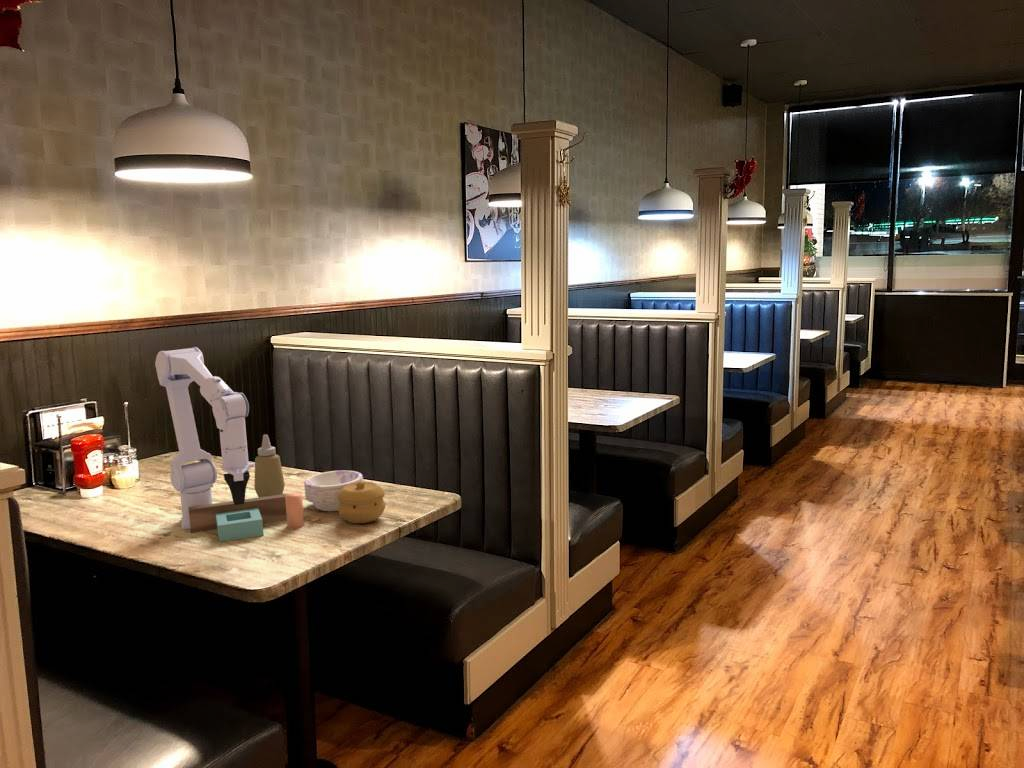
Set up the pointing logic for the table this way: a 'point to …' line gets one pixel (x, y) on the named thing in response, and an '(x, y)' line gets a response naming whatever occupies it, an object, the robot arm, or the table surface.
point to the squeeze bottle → (268, 471)
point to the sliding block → (239, 524)
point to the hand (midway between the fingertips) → (239, 503)
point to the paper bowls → (329, 488)
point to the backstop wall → (268, 508)
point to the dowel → (294, 510)
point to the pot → (361, 502)
